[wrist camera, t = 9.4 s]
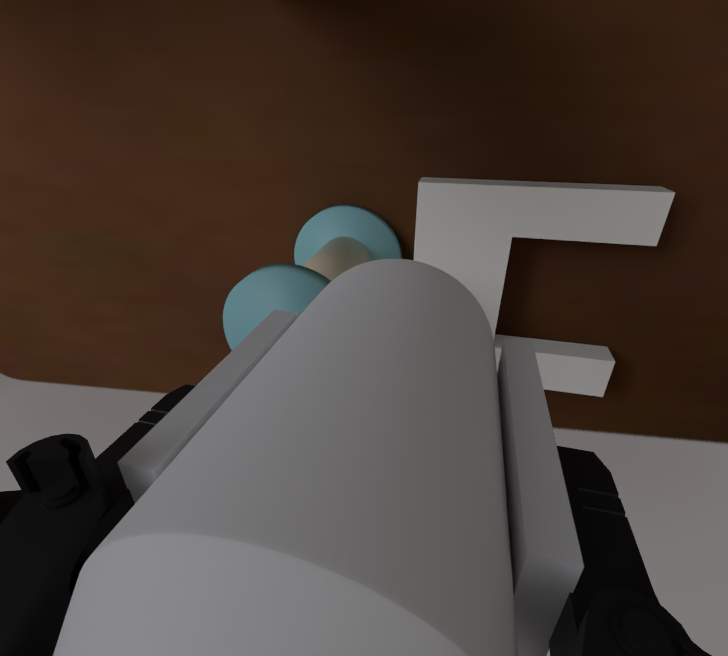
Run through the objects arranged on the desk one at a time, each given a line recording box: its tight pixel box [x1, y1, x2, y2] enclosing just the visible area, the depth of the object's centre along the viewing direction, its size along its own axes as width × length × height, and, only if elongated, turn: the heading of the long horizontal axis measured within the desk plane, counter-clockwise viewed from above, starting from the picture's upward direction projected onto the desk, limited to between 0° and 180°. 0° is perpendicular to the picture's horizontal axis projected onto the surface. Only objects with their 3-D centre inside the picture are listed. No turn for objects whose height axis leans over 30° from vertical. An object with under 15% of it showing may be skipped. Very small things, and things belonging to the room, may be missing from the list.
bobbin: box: [223, 204, 402, 351], centre depth 26 cm, size 8×8×12 cm
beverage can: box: [53, 259, 518, 656], centre depth 9 cm, size 6×6×12 cm
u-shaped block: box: [414, 177, 675, 397], centre depth 28 cm, size 14×14×2 cm
